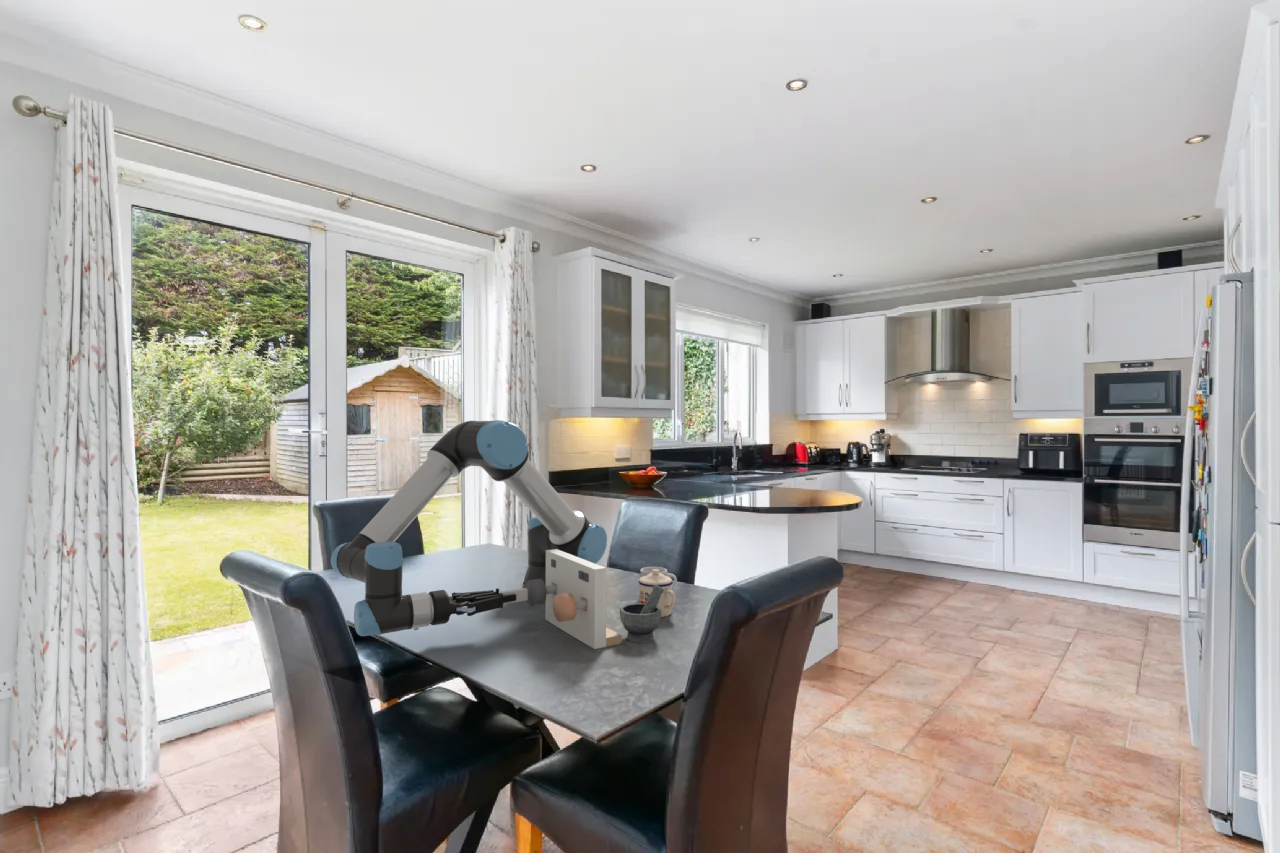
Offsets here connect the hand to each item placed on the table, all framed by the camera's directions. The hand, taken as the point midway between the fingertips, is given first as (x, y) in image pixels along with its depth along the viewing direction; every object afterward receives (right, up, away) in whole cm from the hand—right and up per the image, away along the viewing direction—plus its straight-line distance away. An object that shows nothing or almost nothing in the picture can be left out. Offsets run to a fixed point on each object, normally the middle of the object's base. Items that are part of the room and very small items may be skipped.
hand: (526, 594), depth 161 cm
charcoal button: (+5, -3, +3) cm, 6 cm away
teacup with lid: (+33, -9, +13) cm, 37 cm away
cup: (+33, -9, +31) cm, 46 cm away
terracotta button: (+13, -3, -10) cm, 17 cm away
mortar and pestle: (+29, -9, -5) cm, 30 cm away
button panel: (+13, -9, -1) cm, 16 cm away
